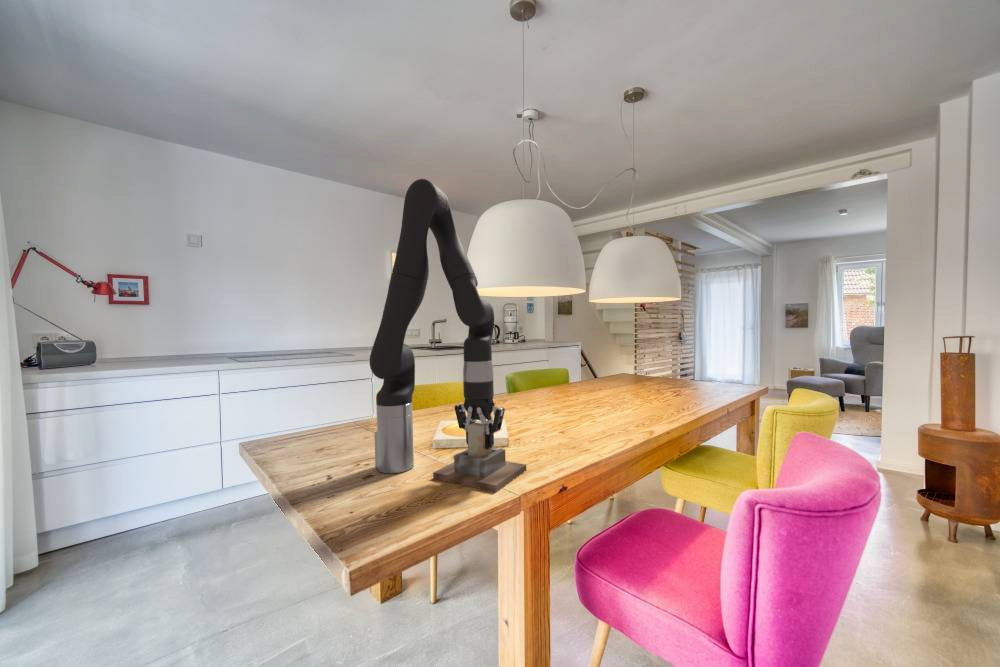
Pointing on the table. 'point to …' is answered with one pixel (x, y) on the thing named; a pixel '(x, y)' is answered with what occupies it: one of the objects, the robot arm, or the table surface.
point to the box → (477, 440)
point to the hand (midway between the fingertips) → (479, 446)
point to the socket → (481, 470)
